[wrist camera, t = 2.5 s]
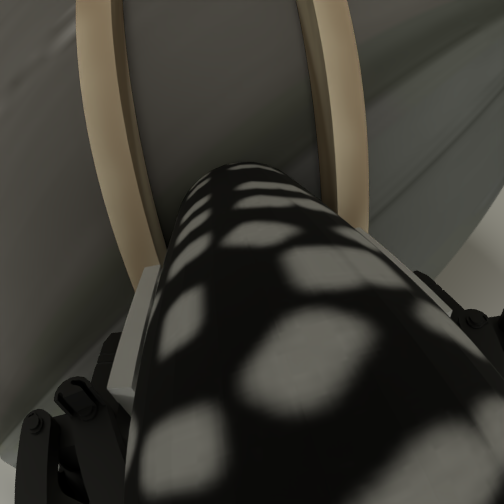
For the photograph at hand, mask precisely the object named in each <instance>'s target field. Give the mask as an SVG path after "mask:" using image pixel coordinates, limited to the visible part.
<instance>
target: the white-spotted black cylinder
mask: <svg viewBox="0 0 504 504" xmlns="http://www.w3.org/2000/svg"><path fill="white" fill-rule="evenodd" d="M123 504H504V378H503V377H502V376H501V375H500V373H499V372H498V371H497V370H496V368H495V367H494V366H493V365H492V364H491V362H490V361H489V360H488V359H487V358H486V356H485V355H484V354H483V353H482V352H481V351H480V350H479V348H478V347H477V346H476V345H475V344H474V343H473V342H472V340H471V339H470V338H469V337H468V336H467V335H466V334H465V333H464V332H463V331H462V329H461V328H460V327H459V326H458V325H457V324H456V323H455V322H454V321H453V320H452V319H451V318H450V317H449V316H448V315H447V314H446V313H445V312H444V311H443V309H442V308H441V307H440V306H439V305H438V304H437V303H436V302H435V301H434V300H433V299H432V298H431V297H430V296H429V295H428V294H427V293H426V292H425V291H423V290H422V289H421V288H420V287H419V286H418V285H417V284H416V283H415V282H414V281H413V280H412V279H411V278H410V277H409V276H408V275H407V274H406V273H405V272H404V271H402V270H401V269H400V268H399V267H398V266H397V265H396V264H395V263H394V262H393V261H392V260H390V259H389V258H388V257H387V256H386V255H385V254H384V253H383V252H381V251H380V250H379V249H378V248H377V247H376V246H375V245H373V244H372V243H371V242H370V241H369V240H368V239H367V238H365V237H364V236H363V235H362V234H361V233H359V232H358V231H357V230H356V229H355V228H354V227H352V226H351V225H350V224H349V223H348V222H346V221H345V220H344V219H343V218H341V217H340V216H339V215H338V214H336V213H335V212H334V211H333V210H332V209H330V208H329V207H328V206H326V205H325V204H324V203H323V202H321V201H320V200H319V199H318V198H316V197H315V196H314V195H312V194H311V193H310V192H308V191H307V190H306V189H305V188H303V187H302V186H301V185H299V184H298V183H297V182H295V181H294V180H293V179H291V178H290V177H288V176H287V175H286V174H284V173H283V172H281V171H280V170H278V169H275V168H273V167H271V166H268V165H265V164H260V163H255V162H237V163H232V164H228V165H224V166H221V167H219V168H217V169H215V170H212V171H210V172H209V173H208V174H206V175H205V176H203V177H202V178H200V179H199V180H198V181H197V182H196V183H195V184H194V185H193V187H192V188H191V189H190V190H189V191H188V193H187V195H186V196H185V198H184V200H183V201H182V204H181V207H180V210H179V213H178V216H177V219H176V222H175V225H174V229H173V232H172V235H171V239H170V242H169V246H168V249H167V252H166V256H165V260H164V263H163V267H162V270H161V274H160V278H159V282H158V286H157V290H156V294H155V298H154V302H153V306H152V310H151V314H150V318H149V323H148V327H147V332H146V336H145V341H144V346H143V351H142V356H141V361H140V366H139V372H138V377H137V383H136V389H135V395H134V401H133V407H132V414H131V421H130V429H129V437H128V445H127V455H126V465H125V477H124V492H123Z"/></svg>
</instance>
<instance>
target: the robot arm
mask: <svg viewBox="0 0 504 504" xmlns="http://www.w3.org/2000/svg"><path fill="white" fill-rule="evenodd" d="M355 229H356V230H357V231H358V232H359V233H361V234H362V235H363V236H364V237H365V238H367V239H368V240H369V241H370V242H371V243H372V244H373V245H375V246H376V247H377V248H378V249H379V250H380V251H381V252H383V253H384V254H385V255H386V256H387V257H388V258H389V259H390V260H392V261H393V262H394V263H395V264H396V265H397V266H398V267H399V268H400V269H401V270H402V271H404V272H405V273H406V274H407V275H408V276H409V277H410V278H411V279H412V280H413V281H414V282H415V283H416V284H417V285H418V286H419V287H420V288H421V289H422V290H423V291H425V292H426V293H427V294H428V295H429V296H430V297H431V298H432V299H433V300H434V301H435V302H436V303H437V304H438V305H439V306H440V307H441V308H442V309H443V311H444V312H445V313H446V314H447V315H448V316H449V317H450V318H451V319H452V320H453V321H454V322H455V323H456V324H457V325H458V326H459V327H460V328H461V329H462V331H463V332H464V333H465V334H466V335H467V336H468V337H469V338H470V339H471V340H472V342H473V343H474V344H475V345H476V346H477V347H478V348H479V350H480V351H481V352H482V353H483V354H484V355H485V356H486V358H487V359H488V360H489V361H490V362H491V364H492V365H493V366H494V367H495V368H496V370H497V371H498V372H499V373H500V375H501V376H502V377H503V378H504V309H503V312H502V314H501V316H496V317H489V318H488V317H487V315H485V314H484V313H483V312H481V311H478V310H475V309H467V310H464V309H463V308H462V307H461V306H460V305H459V304H458V303H457V302H456V301H455V300H454V299H453V298H452V297H451V296H450V295H448V294H447V293H446V292H445V291H444V290H442V288H441V287H440V286H439V285H437V284H436V283H435V282H434V281H433V280H432V279H431V278H430V277H429V276H427V275H425V274H423V273H421V272H419V271H414V272H412V271H411V270H409V269H408V268H407V267H406V266H405V265H404V264H403V263H402V262H400V261H399V260H398V259H397V258H396V257H395V256H394V255H392V254H391V253H390V252H389V251H388V250H387V249H385V248H384V247H383V246H382V245H381V244H380V243H378V242H377V241H376V240H375V239H374V238H372V237H371V236H370V235H369V234H368V233H366V232H365V231H364V230H363V229H361V228H360V227H359V228H355ZM161 270H162V268H161V265H155V266H150V267H145V268H144V270H143V273H142V276H141V278H140V281H139V284H138V287H137V289H136V292H135V295H134V298H133V301H132V304H131V307H130V310H129V313H128V316H127V319H126V322H125V325H124V328H123V331H122V332H118V333H111V335H110V336H109V337H108V338H107V339H106V341H105V342H104V343H103V346H102V349H101V352H100V356H99V358H98V361H97V363H98V364H96V367H95V371H94V374H93V377H92V380H91V383H90V381H89V380H87V379H86V378H84V377H79V376H77V377H72V378H69V379H68V380H66V381H64V382H63V383H62V384H61V385H60V386H59V387H58V389H57V391H56V393H55V397H54V401H55V402H56V404H57V405H58V406H59V407H60V408H61V409H62V410H63V411H64V412H65V413H66V414H63V415H60V416H56V417H52V416H51V415H50V414H49V413H48V412H46V411H45V410H43V409H37V410H33V411H32V412H30V413H29V414H28V415H27V416H26V418H25V419H24V421H23V424H22V429H21V435H20V441H19V448H18V457H17V466H16V479H15V504H123V492H124V477H125V465H126V455H127V445H128V437H129V429H130V421H131V414H132V407H133V401H134V395H135V389H136V383H137V377H138V372H139V366H140V361H141V356H142V351H143V346H144V341H145V336H146V332H147V327H148V323H149V318H150V314H151V310H152V306H153V302H154V298H155V294H156V290H157V286H158V282H159V278H160V274H161ZM58 464H59V465H60V468H59V471H58Z"/></svg>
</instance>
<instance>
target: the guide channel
mask: <svg viewBox="0 0 504 504" xmlns="http://www.w3.org/2000/svg"><path fill="white" fill-rule="evenodd" d="M296 3H297V8H298V13H299V18H300V23H301V28H302V33H303V39H304V44H305V50H306V56H307V63H308V69H309V76H310V83H311V90H312V98H313V106H314V115H315V124H316V133H317V144H318V155H319V167H320V181H321V197H322V202H323V203H324V204H325V205H326V206H328V207H329V208H330V209H332V210H333V211H334V212H335V213H336V214H338V215H339V216H340V217H341V218H343V219H344V220H345V221H346V222H348V223H349V224H350V225H351V226H352V227H354V228H359V227H360V228H361V229H363V230H364V231H365V232H366V233H368V223H369V167H368V143H367V128H366V115H365V105H364V95H363V87H362V79H361V71H360V65H359V58H358V52H357V46H356V41H355V35H354V30H353V25H352V21H351V16H350V12H349V7H348V3H347V0H296ZM76 37H77V54H78V66H79V76H80V85H81V93H82V100H83V107H84V113H85V119H86V125H87V130H88V135H89V140H90V145H91V150H92V155H93V159H94V163H95V168H96V172H97V176H98V180H99V184H100V188H101V191H102V195H103V199H104V202H105V206H106V209H107V213H108V216H109V219H110V222H111V226H112V229H113V232H114V235H115V238H116V241H117V244H118V247H119V250H120V253H121V256H122V258H123V261H124V264H125V267H126V269H127V272H128V275H129V277H130V280H131V283H132V285H133V288H134V290H135V292H136V289H137V287H138V284H139V281H140V278H141V276H142V273H143V270H144V268H145V267H150V266H155V265H161V268H162V267H163V263H164V260H165V256H166V252H167V248H166V245H165V241H164V238H163V234H162V230H161V227H160V223H159V219H158V215H157V211H156V207H155V203H154V199H153V195H152V191H151V187H150V183H149V178H148V174H147V170H146V165H145V160H144V156H143V151H142V146H141V141H140V136H139V131H138V125H137V120H136V114H135V108H134V102H133V96H132V89H131V82H130V75H129V68H128V59H127V51H126V41H125V30H124V18H123V1H122V0H76Z"/></svg>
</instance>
